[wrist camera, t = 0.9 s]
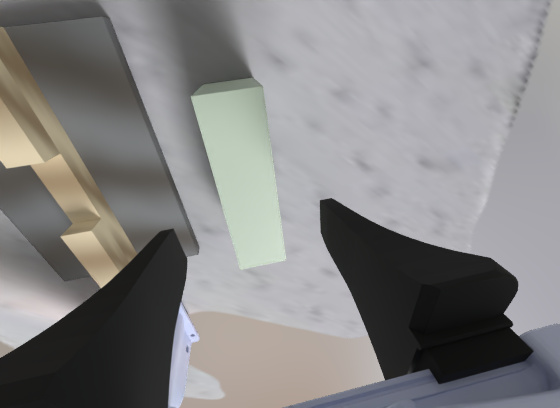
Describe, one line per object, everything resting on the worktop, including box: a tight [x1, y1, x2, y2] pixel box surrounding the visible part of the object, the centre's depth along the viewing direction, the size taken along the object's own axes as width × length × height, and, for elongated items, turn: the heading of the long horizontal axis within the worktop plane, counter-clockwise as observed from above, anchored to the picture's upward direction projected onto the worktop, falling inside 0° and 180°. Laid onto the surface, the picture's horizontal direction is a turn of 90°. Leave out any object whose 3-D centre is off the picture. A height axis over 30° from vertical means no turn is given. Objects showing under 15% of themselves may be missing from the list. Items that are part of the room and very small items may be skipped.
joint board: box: [0, 16, 199, 288], centre depth 17 cm, size 18×12×4 cm, turn 6°
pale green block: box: [191, 78, 286, 270], centre depth 17 cm, size 12×4×6 cm, turn 6°
